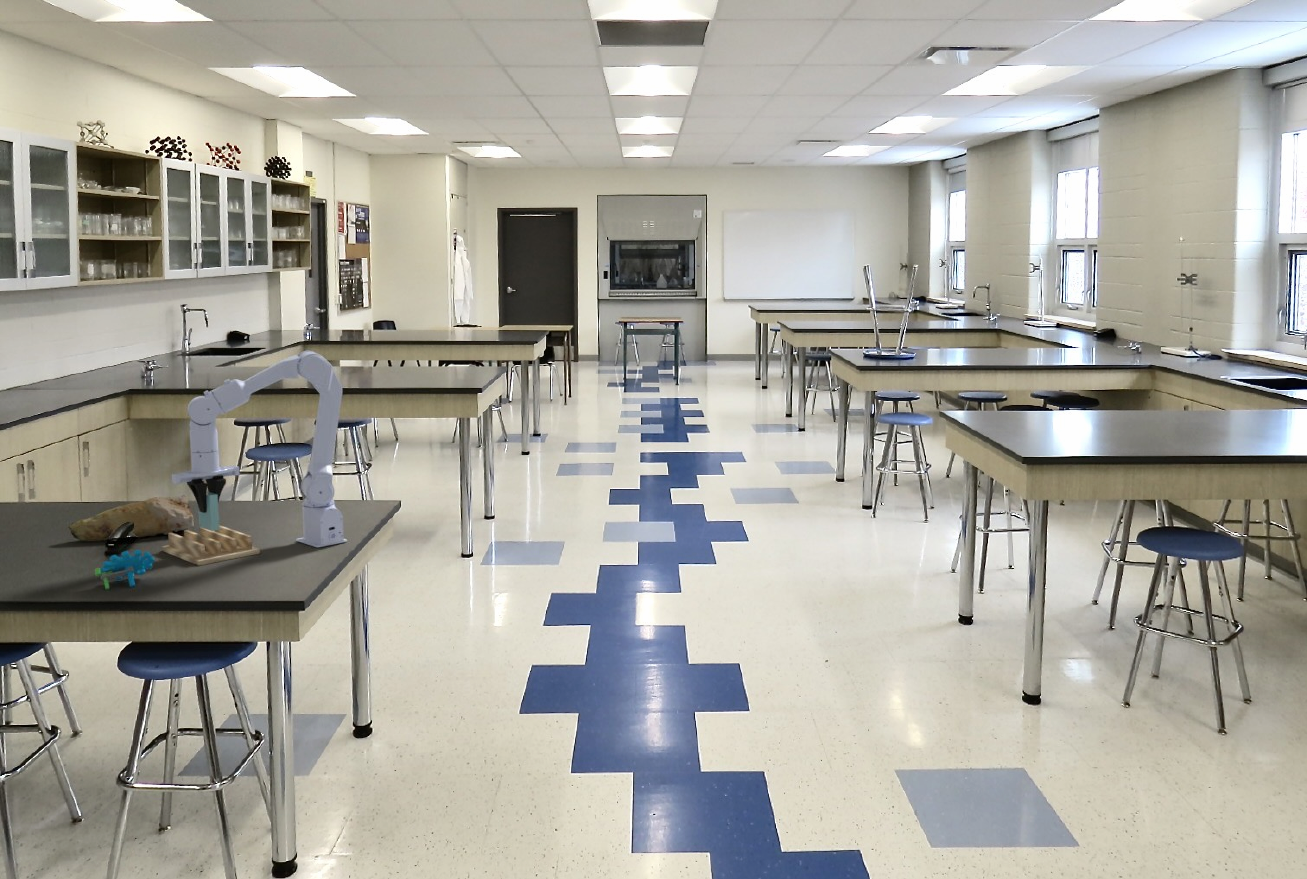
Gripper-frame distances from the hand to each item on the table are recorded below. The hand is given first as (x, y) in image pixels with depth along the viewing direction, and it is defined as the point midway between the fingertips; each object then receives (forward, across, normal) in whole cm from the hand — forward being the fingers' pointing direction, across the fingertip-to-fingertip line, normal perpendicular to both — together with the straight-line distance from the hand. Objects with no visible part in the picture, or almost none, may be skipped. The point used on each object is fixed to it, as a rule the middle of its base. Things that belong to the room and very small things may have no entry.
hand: (208, 510), depth 250 cm
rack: (+9, 0, 0) cm, 9 cm away
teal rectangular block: (+4, 0, 0) cm, 4 cm away
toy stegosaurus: (+10, +23, +12) cm, 28 cm away
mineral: (+10, +6, -27) cm, 29 cm away
